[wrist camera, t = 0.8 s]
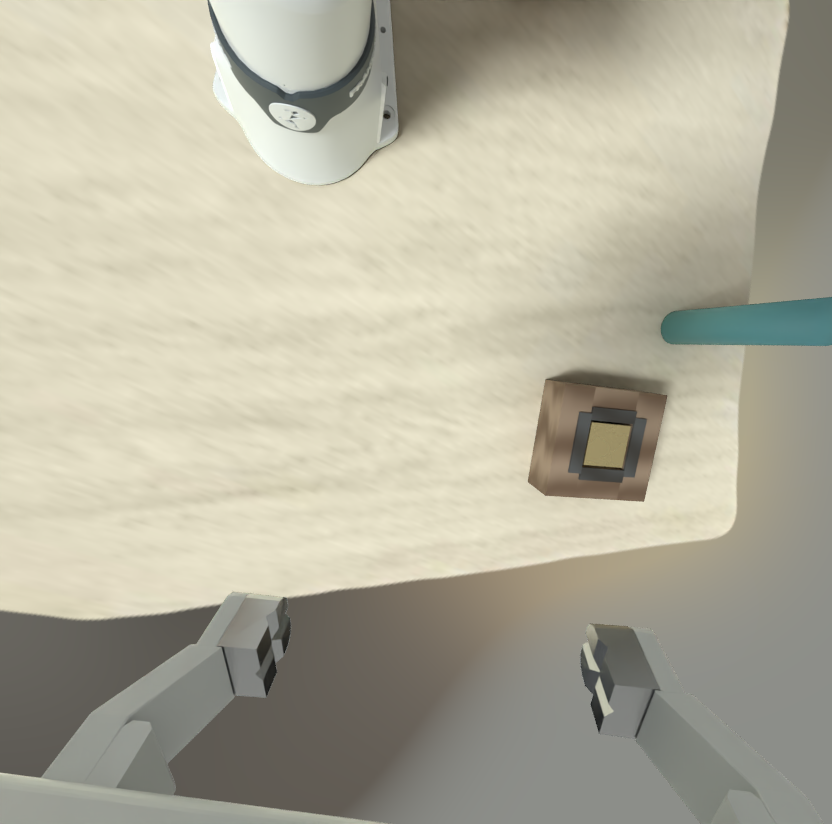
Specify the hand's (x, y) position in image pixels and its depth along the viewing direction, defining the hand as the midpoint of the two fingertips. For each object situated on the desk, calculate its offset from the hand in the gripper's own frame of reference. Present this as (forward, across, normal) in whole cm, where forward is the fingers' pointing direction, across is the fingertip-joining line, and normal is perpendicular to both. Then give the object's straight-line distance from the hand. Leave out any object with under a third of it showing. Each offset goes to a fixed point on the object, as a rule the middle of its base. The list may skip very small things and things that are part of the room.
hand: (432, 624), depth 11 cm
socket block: (+43, -19, +15) cm, 50 cm away
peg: (+50, -30, +1) cm, 58 cm away
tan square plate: (+40, -20, +14) cm, 46 cm away
